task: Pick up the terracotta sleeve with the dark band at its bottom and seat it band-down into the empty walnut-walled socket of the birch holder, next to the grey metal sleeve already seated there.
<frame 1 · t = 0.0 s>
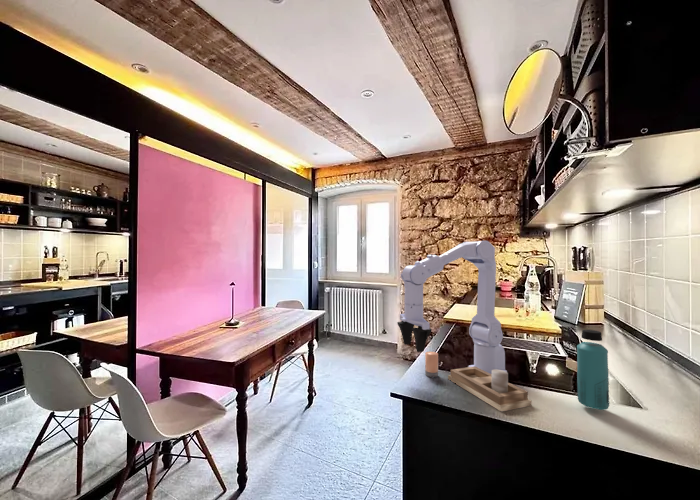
hand: (413, 347, 95), 10 cm above the counter, tool pointing down, fingers open, 7 cm apart
banded sleeve: (431, 375, 99), on the counter
beverage bottle: (592, 410, 77), on the counter
socket holder: (485, 391, 88), on the counter
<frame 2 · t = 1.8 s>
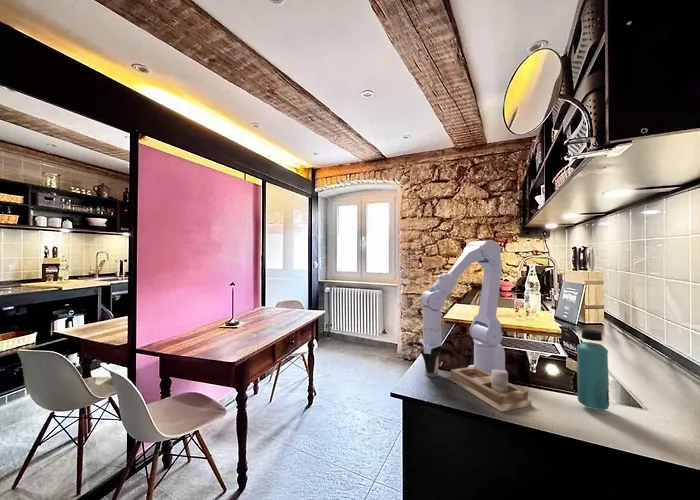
hand: (431, 370, 99), 2 cm above the counter, tool pointing down, fingers closed on banded sleeve, 4 cm apart
banded sleeve: (431, 375, 99), on the counter, touching gripper
everything else where it was.
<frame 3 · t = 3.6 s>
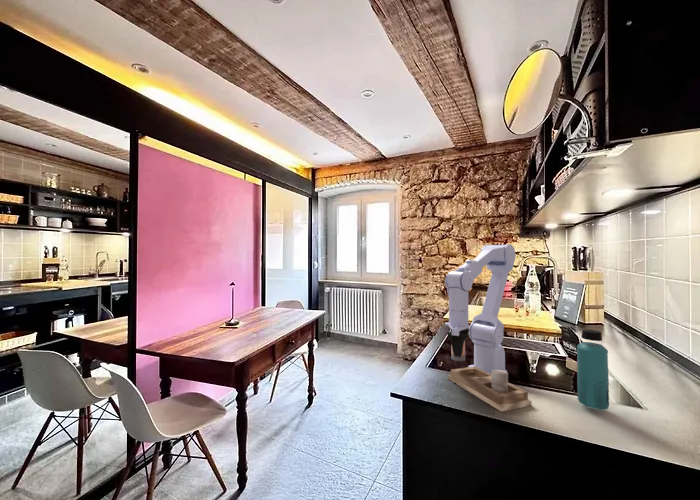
hand: (458, 353, 95), 8 cm above the counter, tool pointing down, fingers closed on banded sleeve, 4 cm apart
banded sleeve: (458, 358, 95), point 7 cm above the counter, touching gripper
everything else where it was.
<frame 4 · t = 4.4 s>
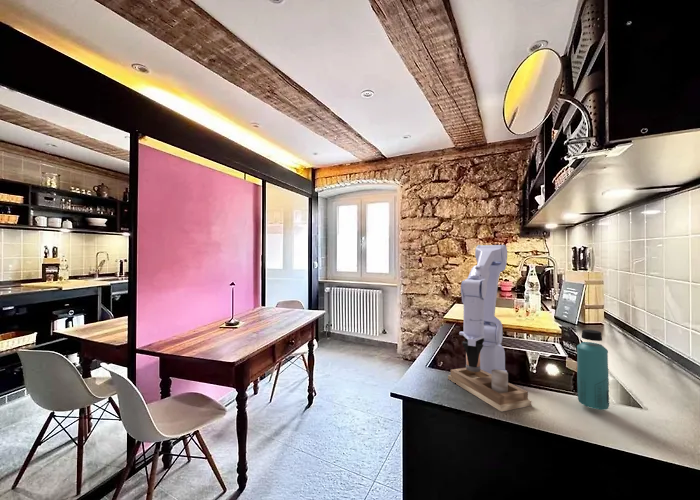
hand: (473, 364, 92), 6 cm above the counter, tool pointing down, fingers closed on banded sleeve, 4 cm apart
banded sleeve: (473, 369, 92), point 4 cm above the counter, touching gripper
everything else where it was.
when the fingers open (4 cm above the counter, at t = 5.2 s): banded sleeve stays where it is, resting on socket holder.
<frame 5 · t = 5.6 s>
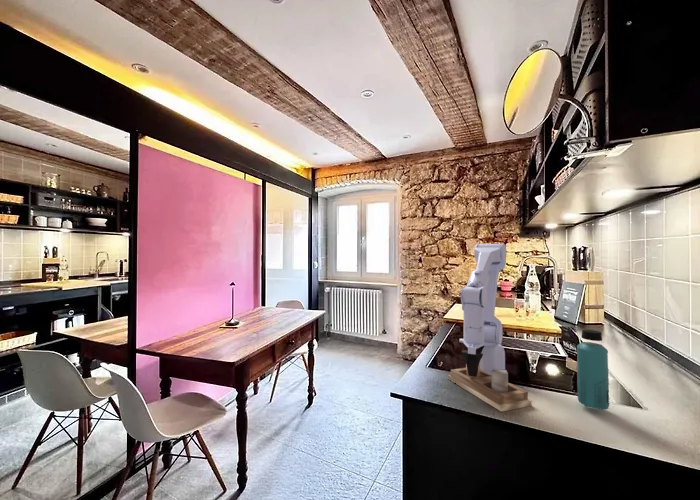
hand: (473, 371, 92), 4 cm above the counter, tool pointing down, fingers open, 7 cm apart
banded sleeve: (473, 380, 92), point 1 cm above the counter, touching socket holder
everything else where it was.
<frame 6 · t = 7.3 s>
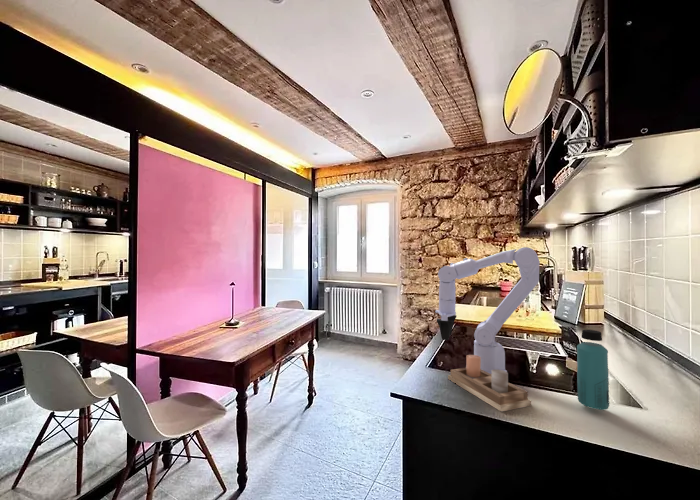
hand: (446, 337, 110), 9 cm above the counter, tool pointing down, fingers open, 7 cm apart
nothing on the counter moved.
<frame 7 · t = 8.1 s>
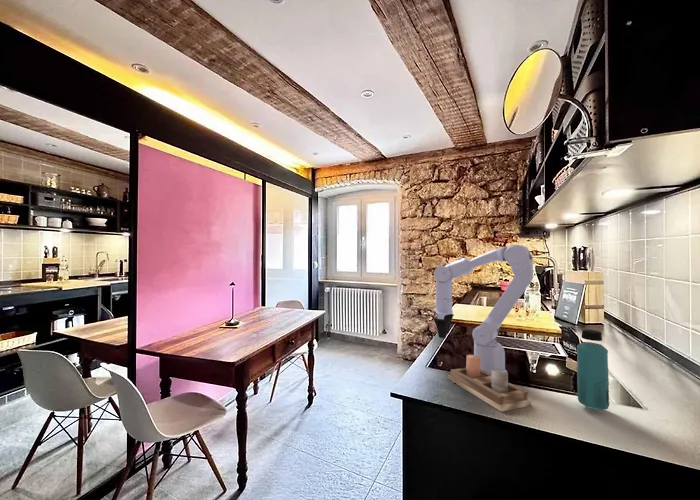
hand: (443, 335, 113), 9 cm above the counter, tool pointing down, fingers open, 7 cm apart
nothing on the counter moved.
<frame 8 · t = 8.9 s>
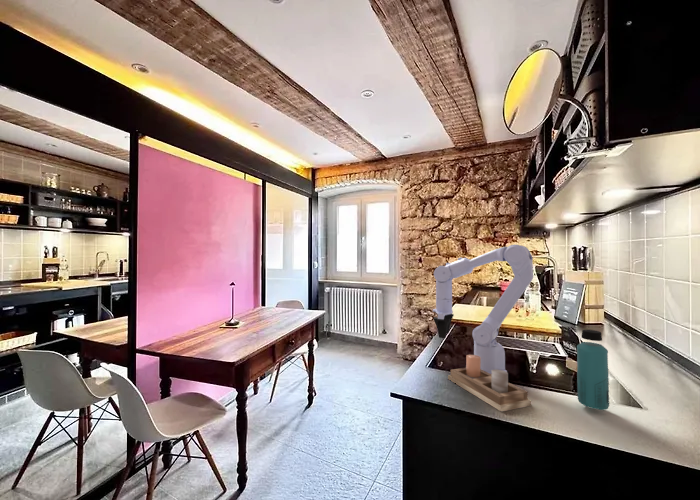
hand: (443, 335, 113), 9 cm above the counter, tool pointing down, fingers open, 7 cm apart
nothing on the counter moved.
at the end: banded sleeve 0.1 cm from the target spot on the socket holder, point 1.2 cm above the socket holder's base; banded sleeve tilted 1°; the gripper is holding nothing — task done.
